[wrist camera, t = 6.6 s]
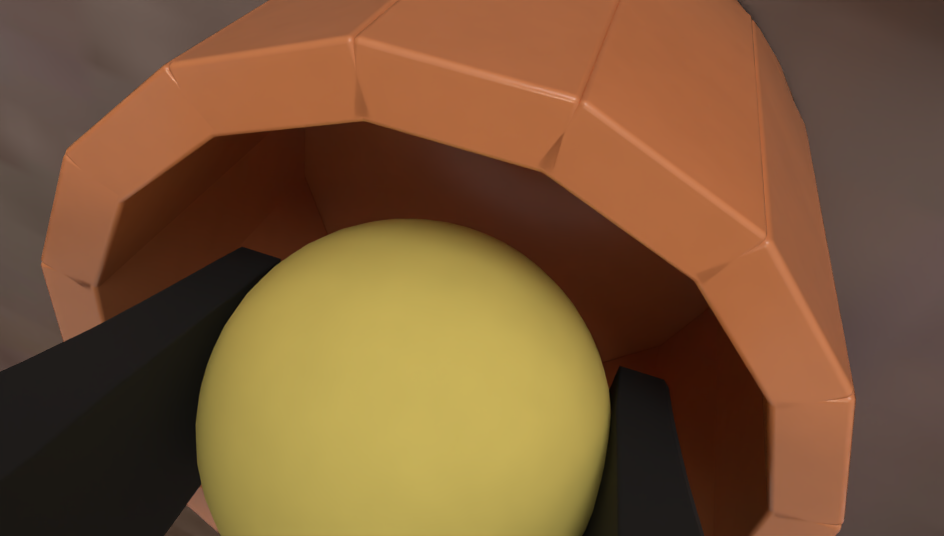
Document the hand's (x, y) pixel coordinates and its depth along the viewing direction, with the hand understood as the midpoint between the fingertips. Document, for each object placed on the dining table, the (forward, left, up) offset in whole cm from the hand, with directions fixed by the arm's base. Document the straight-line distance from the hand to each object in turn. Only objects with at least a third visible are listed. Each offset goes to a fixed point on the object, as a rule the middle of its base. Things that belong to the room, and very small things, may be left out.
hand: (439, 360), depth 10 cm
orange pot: (0, 0, -5) cm, 5 cm away
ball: (0, 0, +1) cm, 1 cm away
